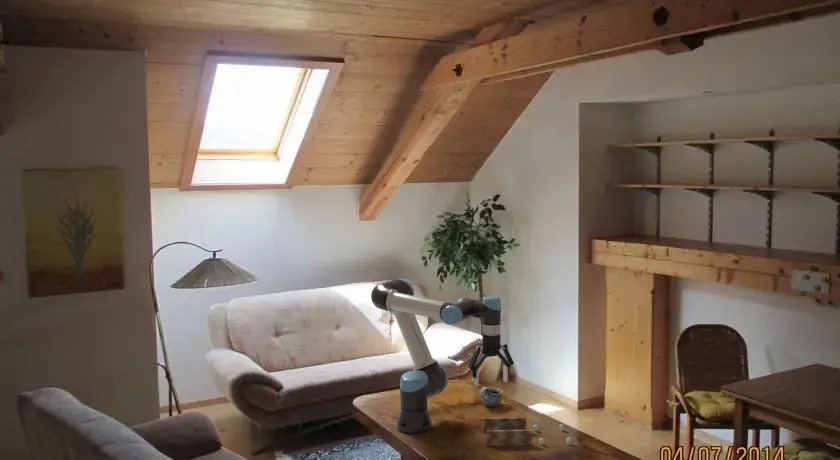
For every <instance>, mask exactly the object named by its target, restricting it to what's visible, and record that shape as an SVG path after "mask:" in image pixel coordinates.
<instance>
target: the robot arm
mask: <svg viewBox="0 0 840 460" xmlns="http://www.w3.org/2000/svg"><path fill="white" fill-rule="evenodd" d="M370 298H371V299H370V300H371V302H372V304H373V305H374V307H375V308H377V309H379V310H382V311H387V312H389V314H390V315H393V316H394V317H395V320H396V323H397V325H398V327H399V330H400V332H401V336H402V337H403V340H404V343H405V345H406V347H407V348H406V349H407V350H408V353H409V355H410V357H411V361H412V363H413V366H414V367H413V370H411V371H410V370H409V371H406V372H404V373H403V374H402V375H401V377H400V380H399V381H400V383H399V391H400V395H399V396H400V411H399V414H398V418H397V421H396V429H397V431H400V432H401V433H406V434H423V433H426V432H428V431H431V430H432V428H433V420H432V418H431V416H430V412H429V408H428V407H429V405H428V401H429V399H430V398H432V397H434V396H436V395H438V394H440V393H442V392H443V391H444V390H445V389H446V388H447V387H448V384H449V375H448V371H447V369H446V368H444V367H443V366H441V365H439V362H438V360H436V359H435V358H433V356H432V355H431V351H430V350H429V347H428V344H427V341H426V339H425V336H424V334H423V332H422V329H421V326H420V324H419V322H418V319H417V316H421V317H426V318H431V319H435V320H440V321H443V322H444V323H445V324H447V325H456V324H458V323H460V322H463V321H465V320H466V321H467V320H469V319H471V318H474V319H475V318H476V319H482V337H481V338H482V340H481V341H482V345H481V346H478V345H475V348H474V352H473V355H472V357H471V359H470V362H469V363H468V366H467V368H468V369H469V370H471V371H472V378H473V382H474V383H473V384H474V385H475V386H476V387H479V386H480V385H479V383H480V380H479V379H480V378H479V377H480V373H479V372H480V370H478V369H479V368H480V367H481V365H482V364H483V363H484V361H485V359H487V358H488V357H493V356H497V357H498V358H499V359H500V360H501V361H502V363H503V364H504V365H503V366H502V375H503V376H502V381H503V382H504V383H509V381H508V380H509V378H508V377H509V374H510V373H511V372H510V369H511V367H512V365H515V362H514V360H513V357H512V355H511V354H510V351H509V349H508V344H507V343H505V342H502V343H501V337H502V335H501V319H502V318H501V315H502V314H501V313H502V303H501V298H500V297H499V296H495V295H492V296H491V295H487V296H484V297H483V298H482V300H480V299H479V300H478V299H473V298H468V297H466V298H463V297H461V298H459V299H458V300H457V301H456V302H455V303H451V302H446V301H441V300H437V299H430V298H427V297H421V296H418V295H417V296H416V295H415V290H414V287H413V286H412V284H411V283H410V282H409V281H408V280H406V279H402V278H398V279H397V278H396V279H395V278H394V279H392V280H389V281H385V282H384V281H383V282H381V283H378V284H377V285H376V286H374V287H373V289H372V291H371V294H370ZM416 315H417V316H416ZM501 349H502V350H503V353H504V355H505V357H504V355H503V354H502V352H501V351H500V350H501Z"/></svg>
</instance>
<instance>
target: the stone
mask: <svg viewBox="0 0 840 460" xmlns="http://www.w3.org/2000/svg"><path fill="white" fill-rule="evenodd" d="M494 430H515V427H514V426H513V424H511V423H510V422H502V423H501V424H499V425H498V426H497V427H495V429H494Z"/></svg>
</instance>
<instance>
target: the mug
mask: <svg viewBox="0 0 840 460" xmlns="http://www.w3.org/2000/svg"><path fill="white" fill-rule="evenodd" d="M502 394H503V390H502V389H500V388H497V387H487V386H484V387H482V388H481V389H480V391H479V395H480V398H481V401H482V403H483V404H484V405H485V406H487V407H490V408H493V407H498V406H499V405H500V404H501V402H502Z"/></svg>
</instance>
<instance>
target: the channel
mask: <svg viewBox="0 0 840 460" xmlns="http://www.w3.org/2000/svg"><path fill="white" fill-rule="evenodd" d="M502 422H510V423H511V424H513V426H514V427H515V430H494V429H495V427H497V426H498V425H499V424H501V423H502ZM482 425H483V426H482V432H483V433H484V434H486V447H504V446H507V447H508V446H509V447H510V446H511V447H514V446H515V447H516V446H517V447H518V446H532V445H533V443H532V442H533V433H532V432H533V431H532V429H527V416H513V417H512V416H511V417H509V416H505V417H504V416H503V417H502V416H501V417H499V416H498V417H497V416H496V417H495V416H494V417H489V416H488V417H482Z"/></svg>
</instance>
